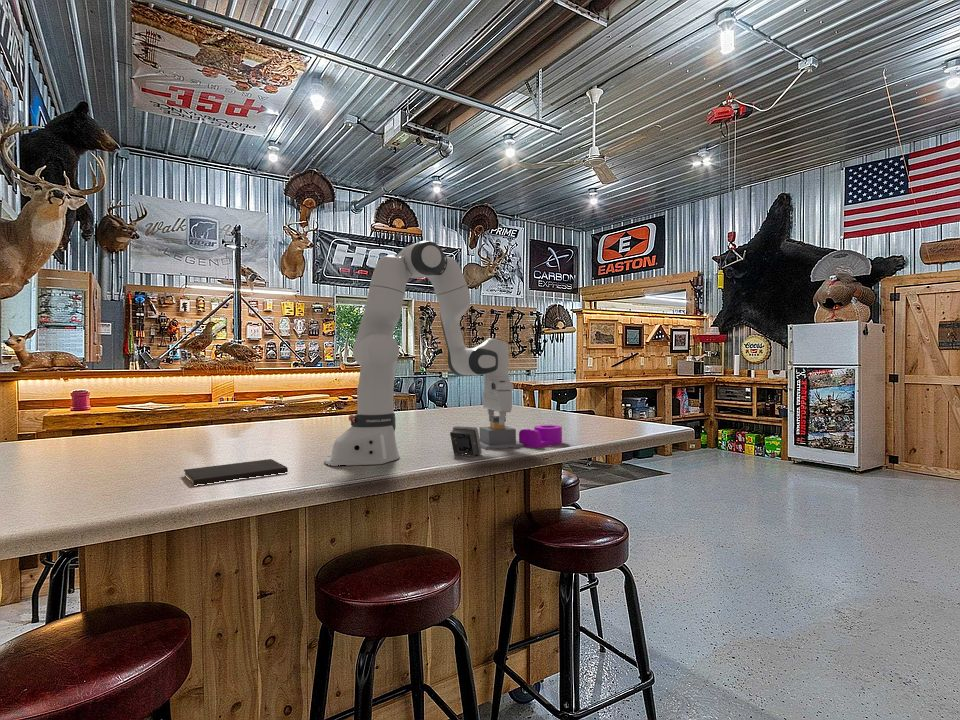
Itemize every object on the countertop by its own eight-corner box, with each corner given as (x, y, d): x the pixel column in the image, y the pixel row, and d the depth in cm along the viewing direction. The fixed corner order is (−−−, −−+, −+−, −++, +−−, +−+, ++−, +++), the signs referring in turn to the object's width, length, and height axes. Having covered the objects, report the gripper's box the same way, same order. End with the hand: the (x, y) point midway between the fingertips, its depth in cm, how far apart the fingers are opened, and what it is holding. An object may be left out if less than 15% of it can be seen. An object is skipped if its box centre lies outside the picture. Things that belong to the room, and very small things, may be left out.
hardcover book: (183, 478, 144) (183, 469, 144) (271, 466, 158) (271, 458, 158) (193, 489, 131) (193, 479, 131) (287, 475, 145) (287, 467, 145)
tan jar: (493, 443, 185) (493, 417, 185) (489, 441, 189) (489, 416, 189) (506, 442, 187) (505, 417, 186) (501, 440, 191) (501, 415, 191)
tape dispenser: (546, 441, 198) (545, 424, 198) (567, 443, 191) (567, 426, 191) (517, 446, 187) (517, 428, 187) (539, 449, 180) (538, 431, 180)
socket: (485, 449, 179) (485, 431, 179) (472, 443, 192) (472, 426, 192) (523, 446, 184) (523, 429, 184) (508, 440, 197) (508, 424, 197)
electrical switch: (482, 455, 170) (480, 426, 169) (473, 459, 165) (471, 430, 164) (458, 452, 175) (456, 424, 174) (449, 456, 170) (447, 428, 170)
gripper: (478, 383, 197) (478, 420, 197) (498, 385, 177) (498, 426, 177) (494, 382, 199) (494, 419, 199) (515, 385, 179) (515, 426, 179)
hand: (496, 423), depth 188 cm, fingers open, 8 cm apart
